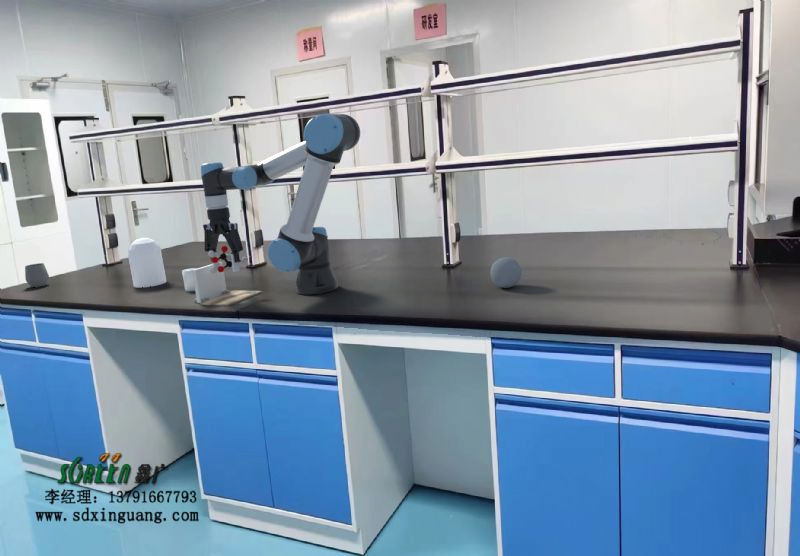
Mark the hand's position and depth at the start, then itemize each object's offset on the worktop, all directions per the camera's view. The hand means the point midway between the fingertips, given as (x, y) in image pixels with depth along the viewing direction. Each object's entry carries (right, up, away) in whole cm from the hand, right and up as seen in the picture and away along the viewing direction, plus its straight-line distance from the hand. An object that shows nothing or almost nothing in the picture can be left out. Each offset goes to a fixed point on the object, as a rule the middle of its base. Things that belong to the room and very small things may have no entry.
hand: (226, 270), depth 220 cm
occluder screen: (-7, -10, +6) cm, 13 cm away
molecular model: (0, 0, +1) cm, 1 cm away
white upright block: (-20, -7, +24) cm, 32 cm away
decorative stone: (+97, -6, -18) cm, 99 cm away
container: (-45, -5, +44) cm, 63 cm away
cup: (-104, -7, +63) cm, 122 cm away
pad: (+1, -10, +2) cm, 10 cm away
